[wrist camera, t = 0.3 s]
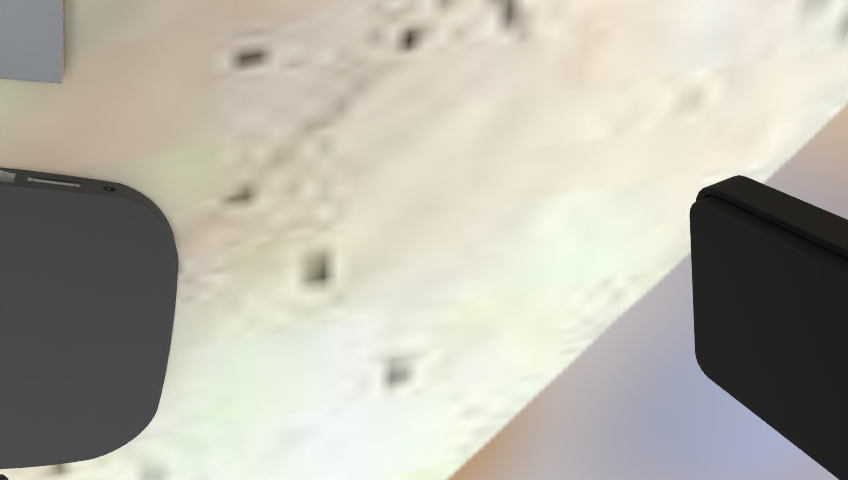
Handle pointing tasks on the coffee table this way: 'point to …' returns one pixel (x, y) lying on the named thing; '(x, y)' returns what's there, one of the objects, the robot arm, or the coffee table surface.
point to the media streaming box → (80, 316)
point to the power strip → (32, 40)
